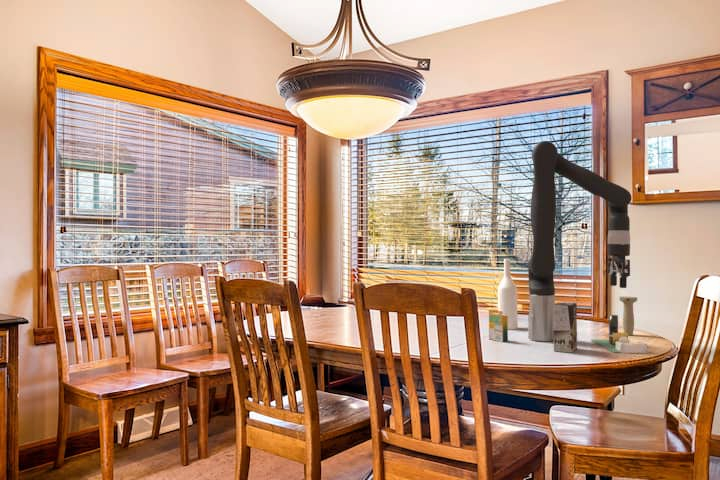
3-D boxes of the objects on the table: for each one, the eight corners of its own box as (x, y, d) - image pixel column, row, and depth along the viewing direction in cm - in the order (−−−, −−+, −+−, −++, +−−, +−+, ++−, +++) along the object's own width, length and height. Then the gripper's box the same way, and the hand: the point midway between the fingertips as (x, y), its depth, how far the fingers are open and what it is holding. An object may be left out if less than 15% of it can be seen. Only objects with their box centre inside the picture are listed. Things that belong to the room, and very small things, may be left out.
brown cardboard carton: (611, 344, 194) (611, 337, 194) (609, 343, 196) (608, 336, 196) (627, 344, 194) (627, 337, 194) (624, 343, 196) (624, 336, 196)
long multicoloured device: (605, 340, 201) (604, 314, 201) (619, 340, 200) (618, 314, 200) (613, 344, 193) (613, 318, 193) (628, 344, 192) (627, 318, 192)
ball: (620, 347, 188) (620, 337, 188) (616, 345, 192) (616, 335, 192) (631, 347, 188) (631, 337, 188) (627, 345, 192) (627, 335, 192)
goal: (620, 352, 182) (620, 344, 182) (615, 350, 186) (615, 341, 186) (647, 353, 181) (647, 344, 181) (641, 350, 186) (641, 341, 186)
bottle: (519, 329, 230) (519, 259, 230) (500, 329, 230) (500, 259, 230) (514, 326, 238) (513, 258, 238) (496, 326, 238) (495, 258, 238)
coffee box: (572, 353, 183) (572, 305, 183) (553, 351, 186) (552, 304, 186) (577, 348, 190) (577, 302, 190) (558, 346, 194) (558, 301, 194)
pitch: (614, 352, 182) (614, 351, 182) (591, 340, 204) (591, 339, 204) (647, 353, 181) (647, 351, 181) (620, 340, 203) (620, 339, 203)
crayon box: (508, 341, 204) (508, 310, 204) (502, 342, 203) (502, 311, 203) (494, 338, 211) (494, 308, 211) (488, 339, 209) (488, 309, 209)
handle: (637, 336, 211) (637, 298, 211) (619, 335, 214) (619, 297, 214) (637, 334, 215) (637, 296, 215) (619, 333, 218) (619, 296, 218)
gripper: (601, 242, 207) (600, 284, 207) (616, 243, 193) (615, 288, 193) (621, 242, 207) (620, 285, 207) (637, 243, 192) (637, 288, 193)
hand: (618, 286), depth 200 cm, fingers open, 8 cm apart
